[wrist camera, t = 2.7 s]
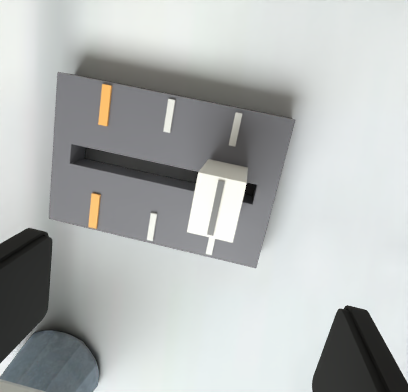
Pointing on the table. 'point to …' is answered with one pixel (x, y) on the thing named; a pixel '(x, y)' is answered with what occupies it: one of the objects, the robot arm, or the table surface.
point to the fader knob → (217, 200)
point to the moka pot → (54, 364)
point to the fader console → (164, 154)
